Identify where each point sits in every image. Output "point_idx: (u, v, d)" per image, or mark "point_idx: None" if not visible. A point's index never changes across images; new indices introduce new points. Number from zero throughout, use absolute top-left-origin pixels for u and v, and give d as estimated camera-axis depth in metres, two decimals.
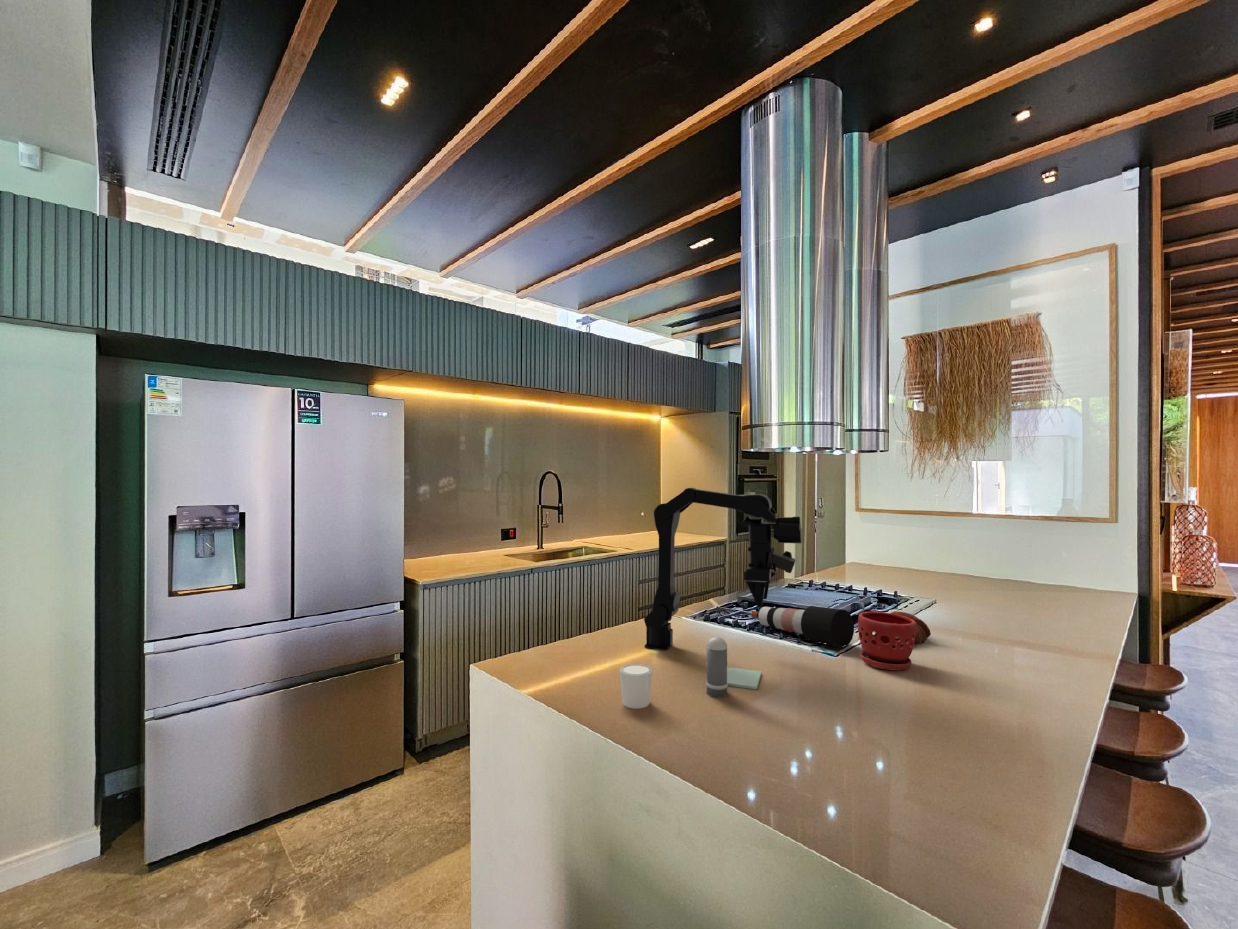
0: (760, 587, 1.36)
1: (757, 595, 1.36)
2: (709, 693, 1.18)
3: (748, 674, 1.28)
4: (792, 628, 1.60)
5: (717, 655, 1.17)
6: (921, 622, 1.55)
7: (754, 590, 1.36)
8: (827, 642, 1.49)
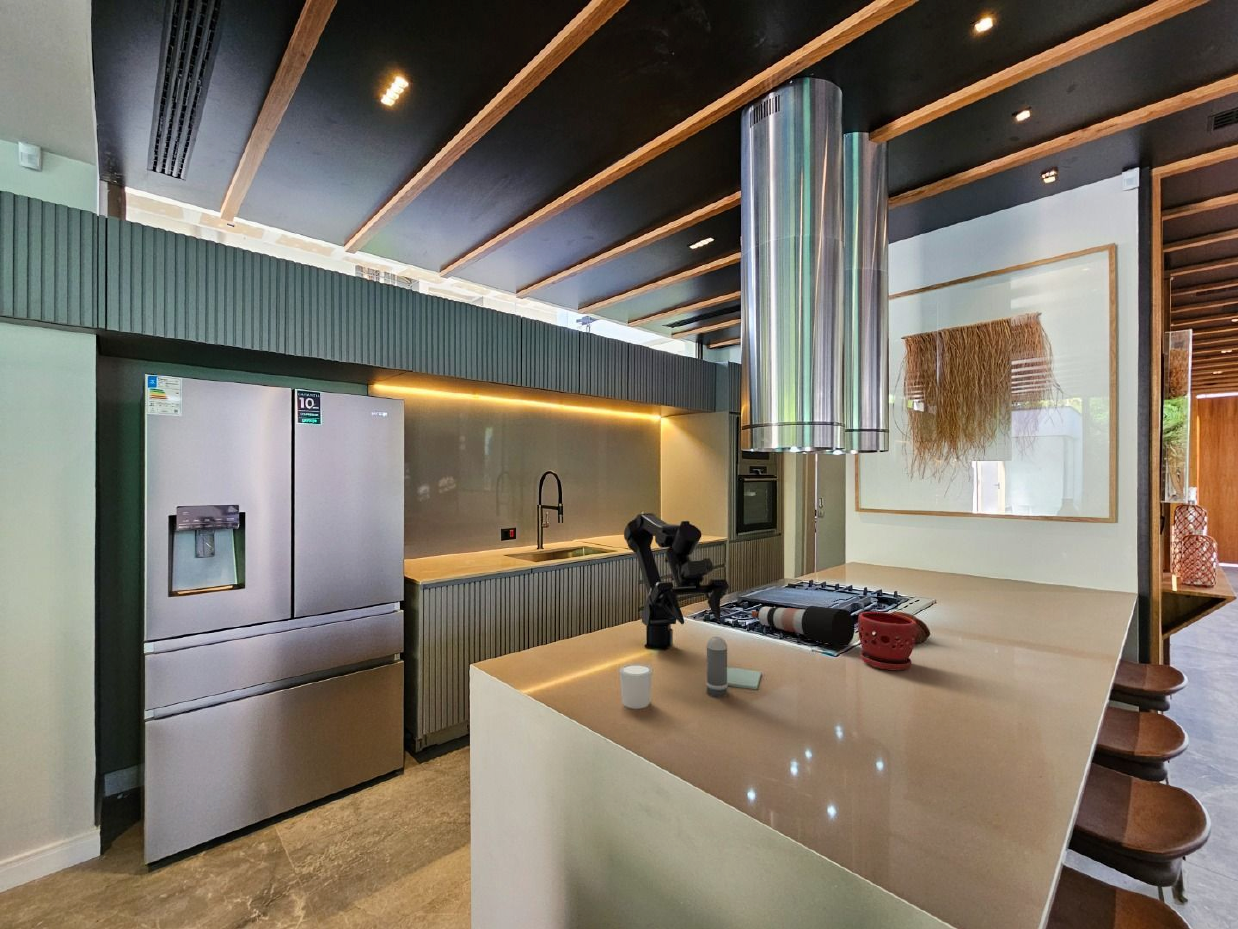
0: (672, 603, 1.28)
1: (674, 613, 1.27)
2: (709, 693, 1.18)
3: (748, 674, 1.28)
4: (792, 628, 1.60)
5: (717, 655, 1.17)
6: (921, 622, 1.55)
7: (671, 609, 1.28)
8: (828, 642, 1.49)
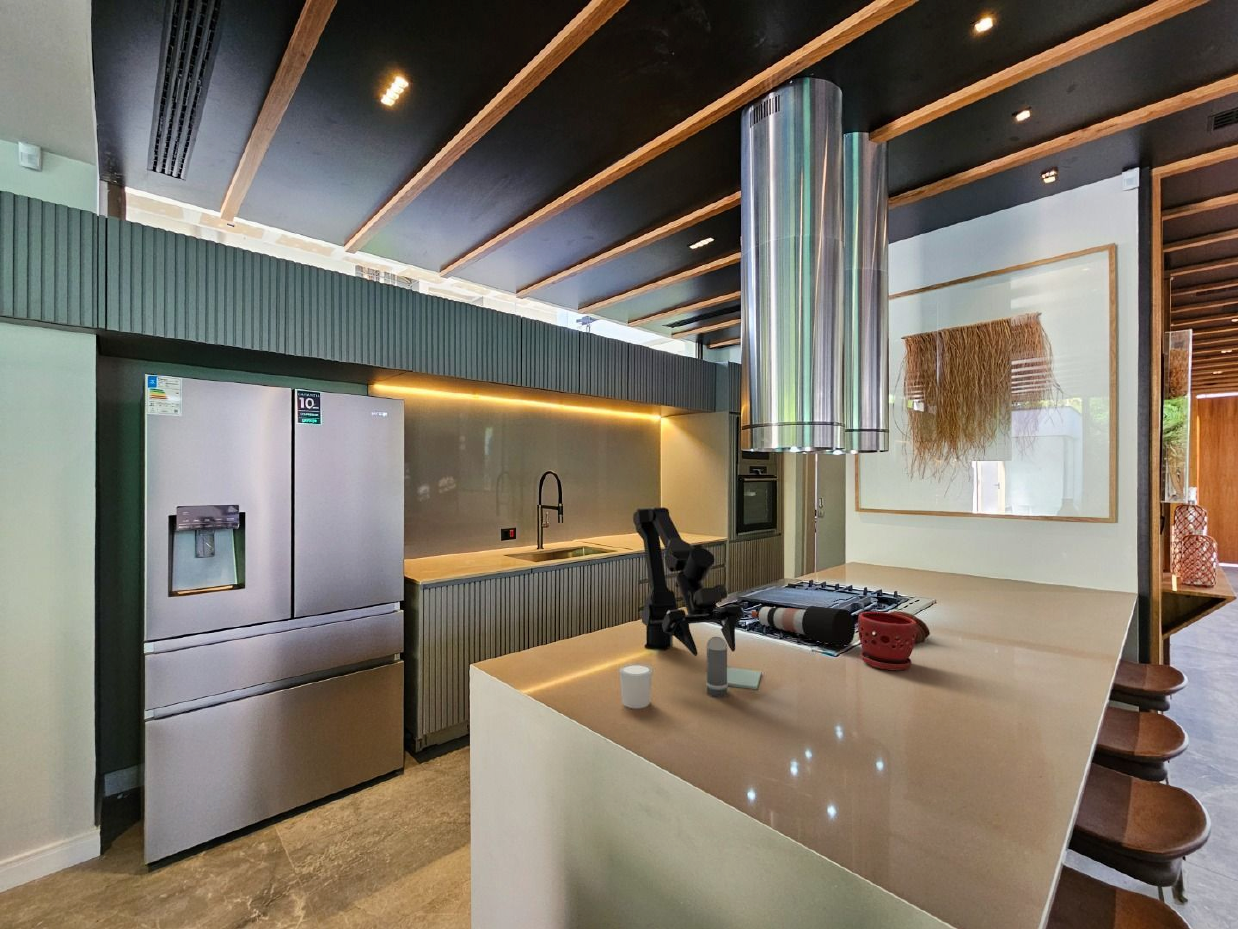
0: None
1: (687, 643, 1.20)
2: (709, 693, 1.18)
3: (748, 674, 1.28)
4: (793, 628, 1.60)
5: (717, 655, 1.17)
6: (920, 622, 1.55)
7: (683, 639, 1.22)
8: (828, 642, 1.49)
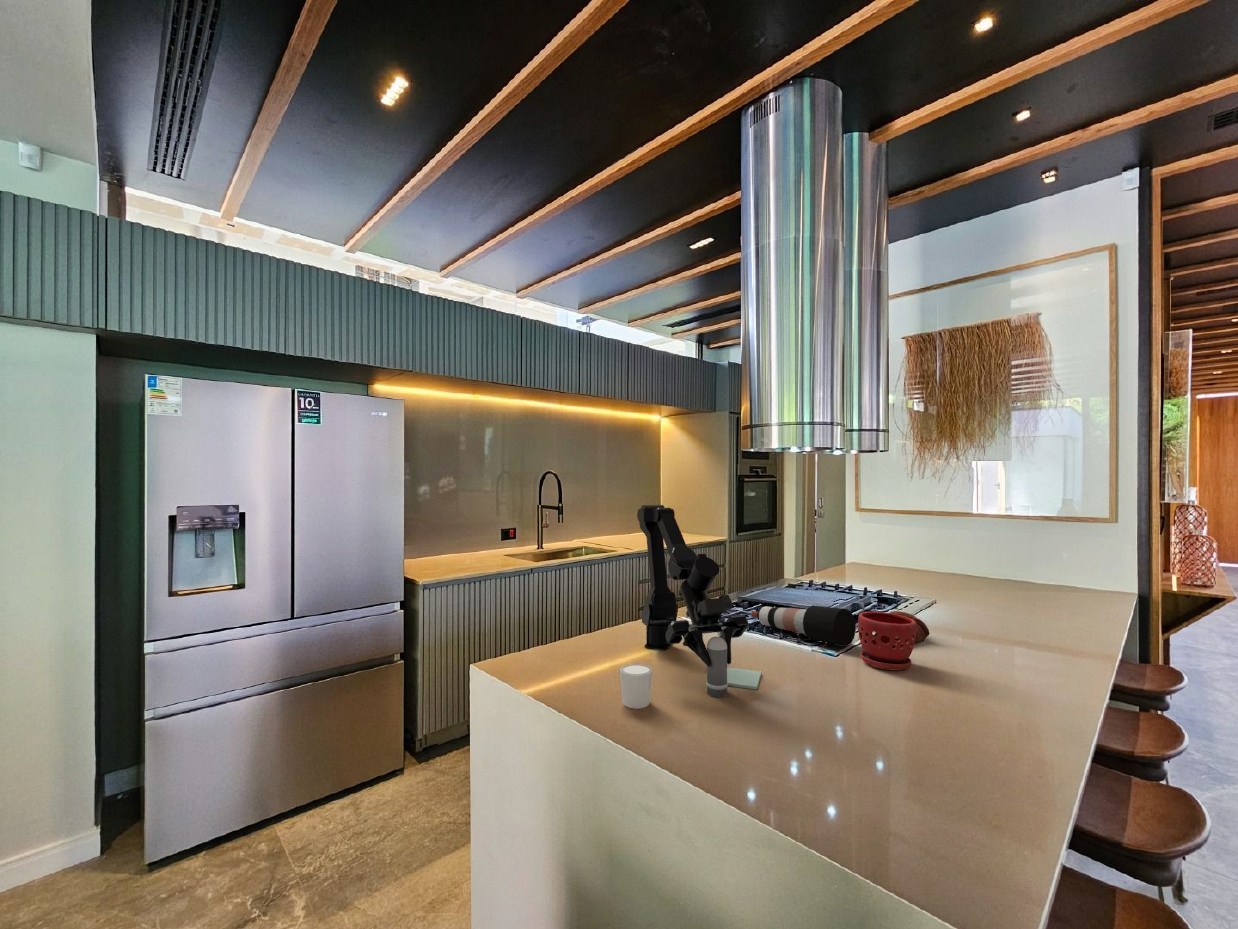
0: None
1: (700, 653, 1.19)
2: (709, 693, 1.18)
3: (748, 674, 1.28)
4: (794, 628, 1.60)
5: (717, 655, 1.17)
6: (920, 622, 1.56)
7: (696, 650, 1.20)
8: (829, 641, 1.50)
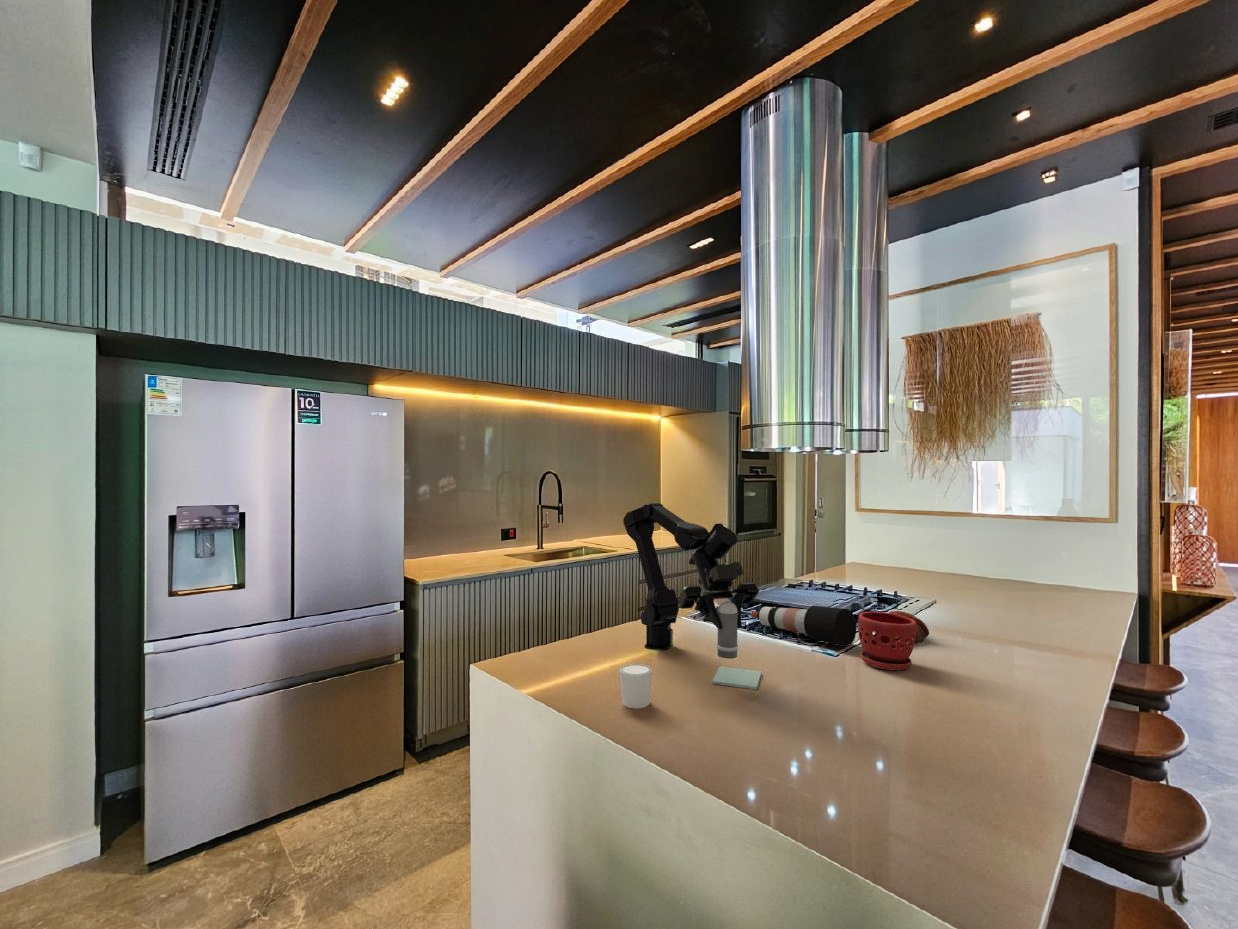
0: (709, 607, 1.25)
1: (711, 617, 1.24)
2: (720, 655, 1.23)
3: (748, 674, 1.28)
4: (794, 628, 1.60)
5: (728, 618, 1.22)
6: (920, 621, 1.56)
7: (708, 614, 1.25)
8: (831, 641, 1.50)
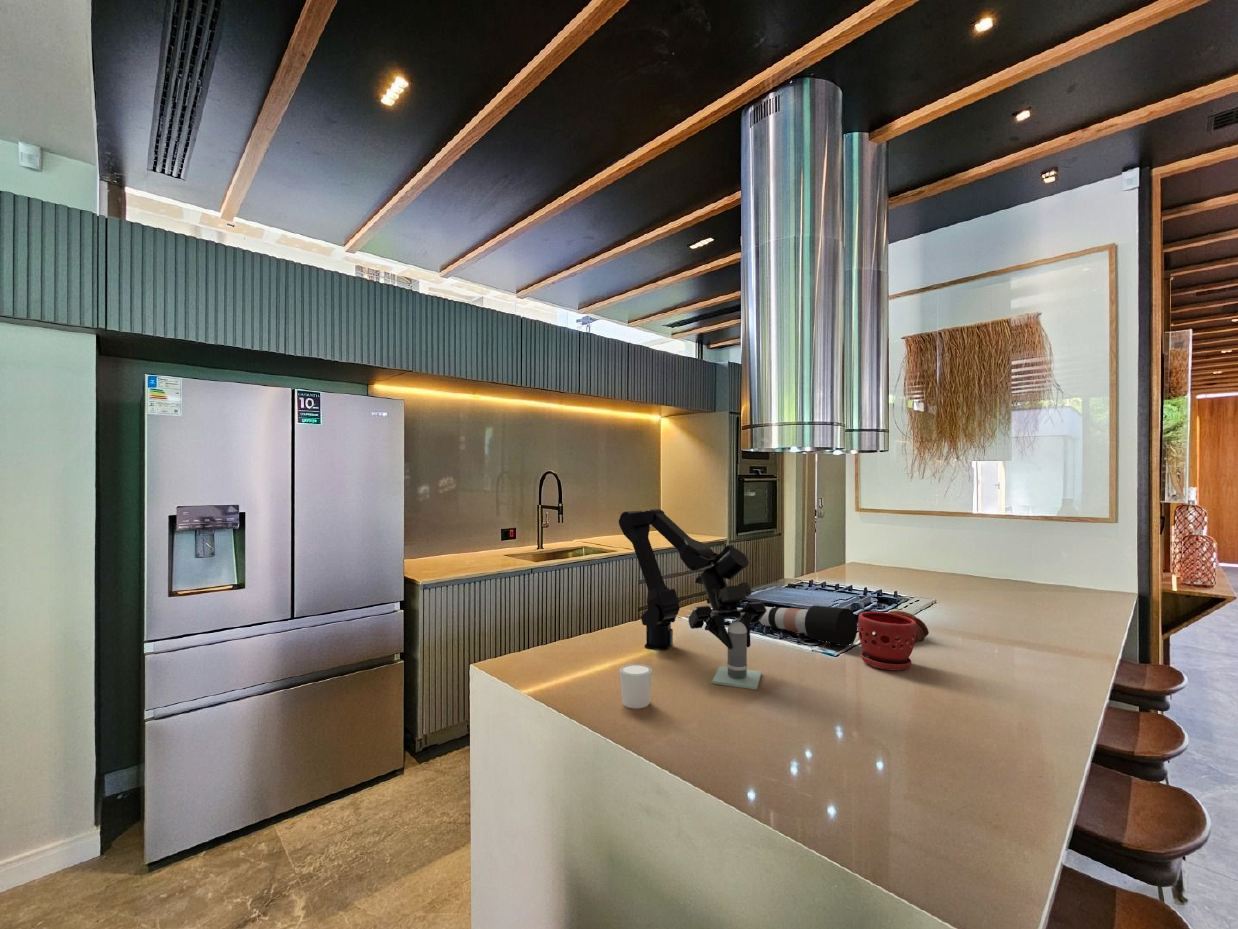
0: (719, 627, 1.28)
1: (721, 637, 1.27)
2: (730, 674, 1.26)
3: (748, 674, 1.28)
4: (795, 628, 1.60)
5: (738, 638, 1.25)
6: (919, 621, 1.56)
7: (718, 634, 1.29)
8: (832, 641, 1.50)
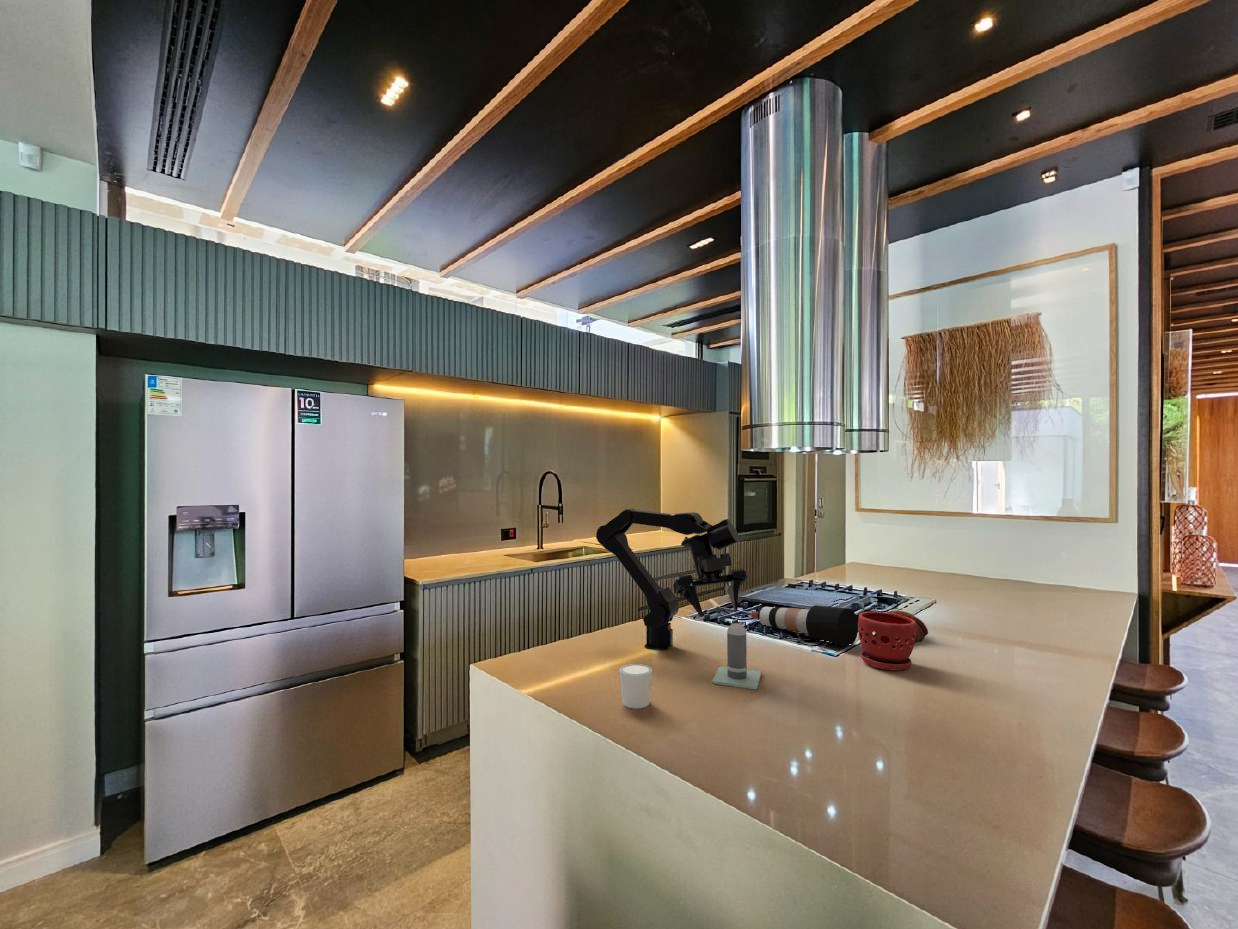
0: None
1: (694, 604, 1.37)
2: (730, 676, 1.26)
3: (748, 674, 1.28)
4: (796, 628, 1.60)
5: (737, 640, 1.25)
6: (919, 621, 1.56)
7: (691, 601, 1.38)
8: (833, 641, 1.50)
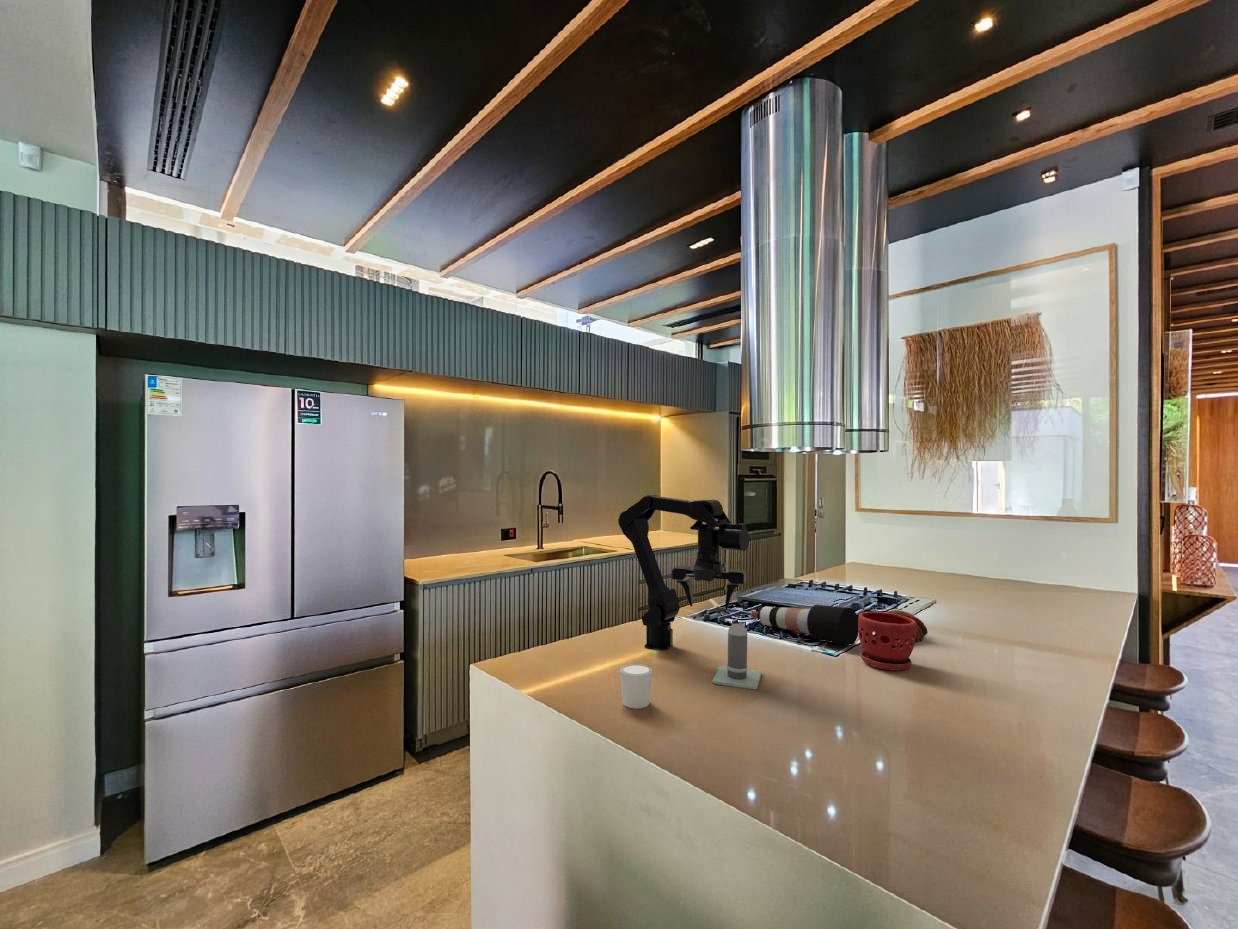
0: None
1: None
2: (730, 676, 1.26)
3: (748, 674, 1.28)
4: (797, 627, 1.60)
5: (738, 640, 1.25)
6: (918, 620, 1.57)
7: None
8: (834, 640, 1.50)
